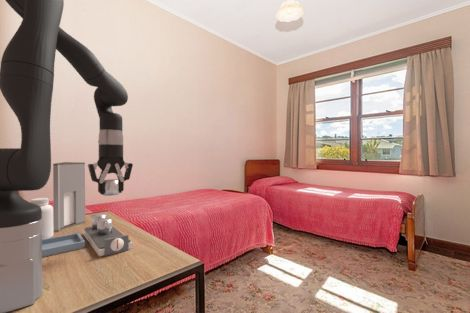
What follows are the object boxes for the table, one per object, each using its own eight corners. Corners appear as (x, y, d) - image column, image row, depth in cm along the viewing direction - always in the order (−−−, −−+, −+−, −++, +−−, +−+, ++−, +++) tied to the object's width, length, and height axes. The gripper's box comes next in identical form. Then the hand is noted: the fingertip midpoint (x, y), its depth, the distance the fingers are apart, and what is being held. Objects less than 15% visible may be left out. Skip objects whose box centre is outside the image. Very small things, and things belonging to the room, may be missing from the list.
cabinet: (65, 219, 117) (64, 162, 117) (88, 217, 121) (87, 161, 121) (53, 232, 98) (53, 163, 98) (81, 229, 102) (81, 163, 102)
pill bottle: (22, 239, 89) (21, 199, 89) (47, 233, 96) (46, 196, 96) (32, 243, 86) (32, 201, 85) (57, 236, 93) (57, 197, 93)
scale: (133, 249, 80) (133, 234, 80) (100, 257, 74) (100, 241, 74) (110, 228, 102) (110, 217, 102) (82, 233, 96) (82, 221, 96)
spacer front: (121, 194, 82) (121, 179, 82) (104, 196, 79) (104, 180, 79) (116, 192, 86) (116, 178, 86) (101, 194, 83) (101, 179, 83)
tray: (85, 247, 82) (85, 241, 82) (39, 257, 74) (39, 250, 74) (79, 238, 91) (79, 232, 91) (38, 246, 83) (38, 240, 83)
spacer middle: (114, 233, 89) (113, 219, 89) (98, 236, 86) (98, 222, 86) (110, 230, 93) (110, 217, 93) (95, 232, 90) (95, 219, 90)
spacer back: (107, 227, 96) (107, 215, 96) (93, 230, 93) (93, 217, 93) (104, 224, 100) (104, 212, 100) (90, 227, 96) (90, 214, 96)
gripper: (89, 142, 75) (89, 197, 75) (136, 144, 84) (136, 192, 84) (84, 143, 80) (84, 194, 80) (129, 144, 90) (129, 190, 90)
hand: (111, 193), depth 82 cm, fingers closed on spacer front, 5 cm apart
